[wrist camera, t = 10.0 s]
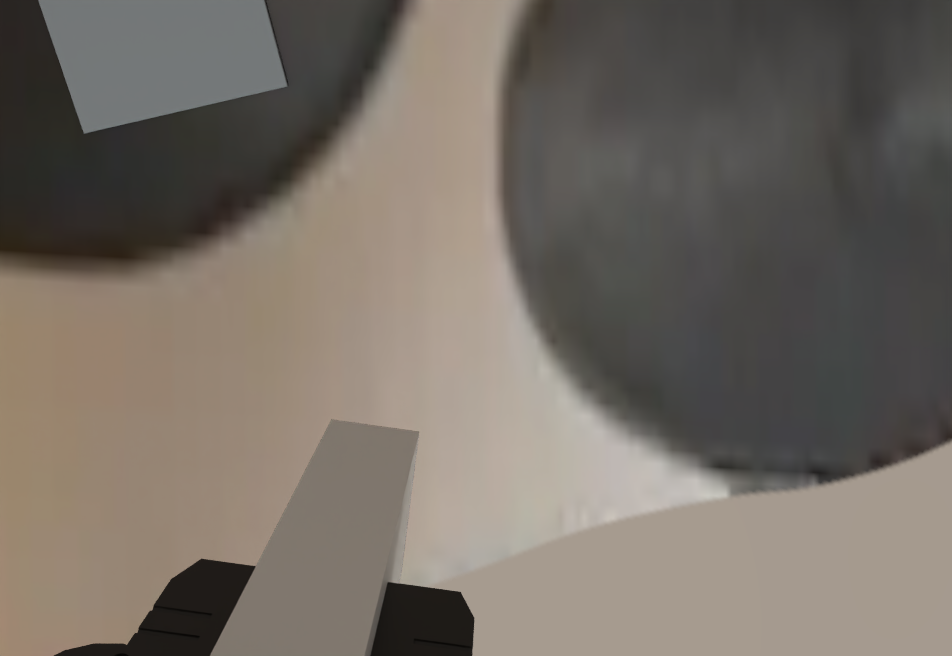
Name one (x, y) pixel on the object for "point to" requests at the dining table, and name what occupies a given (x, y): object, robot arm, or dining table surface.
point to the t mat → (161, 55)
